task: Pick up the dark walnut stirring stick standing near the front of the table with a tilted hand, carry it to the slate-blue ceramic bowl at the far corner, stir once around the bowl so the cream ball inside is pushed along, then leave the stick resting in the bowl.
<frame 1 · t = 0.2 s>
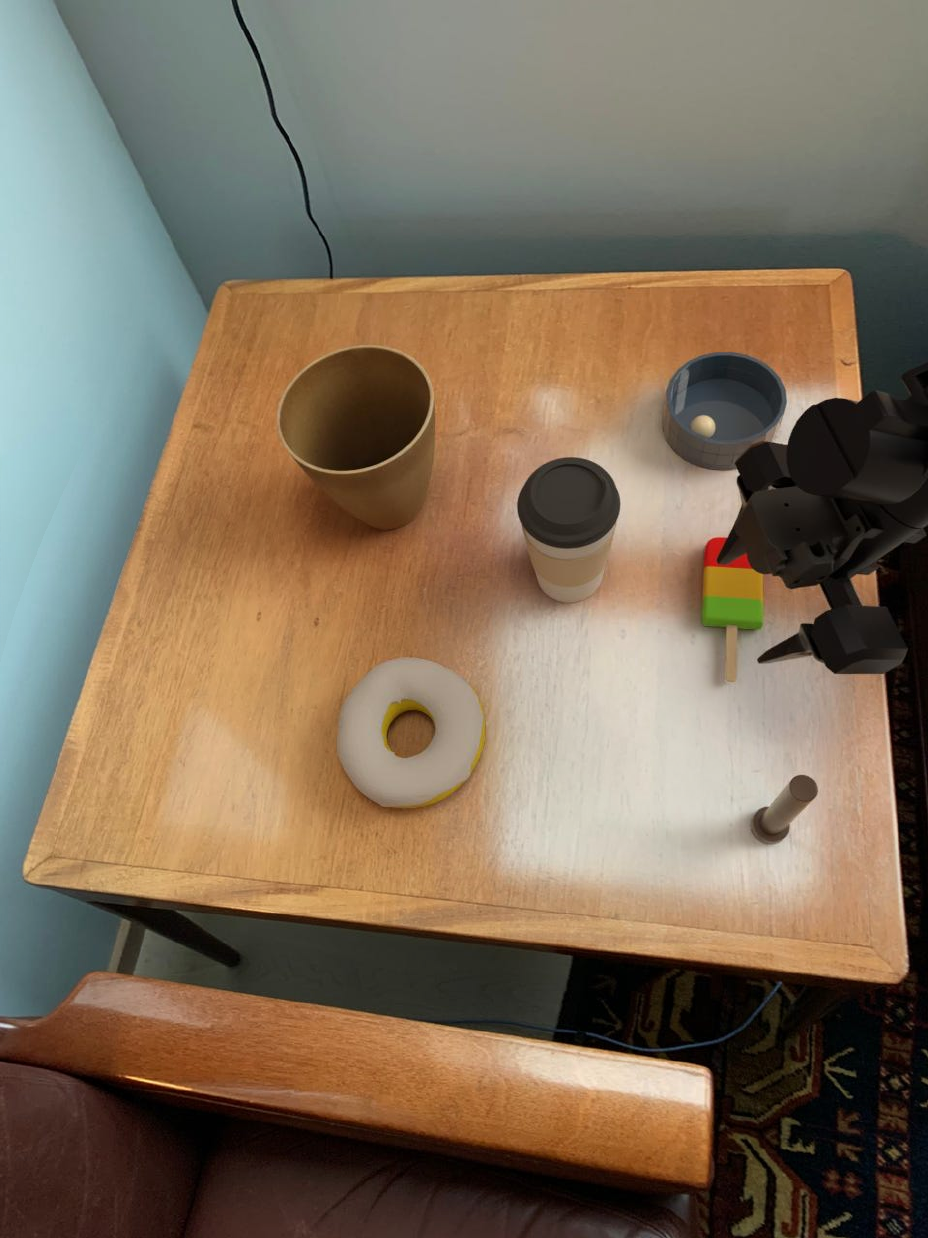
hand: (740, 610, 70), 13 cm above the table, tool tilted 35°, fingers open, 9 cm apart
ball: (702, 427, 91), point 2 cm above the table, touching bowl
plant pot: (388, 502, 94), on the table
stirring stick: (768, 826, 75), on the table
coffee cup: (569, 573, 88), on the table
popsicle: (730, 613, 84), on the table
bowl: (719, 424, 93), on the table
donut: (414, 742, 82), on the table
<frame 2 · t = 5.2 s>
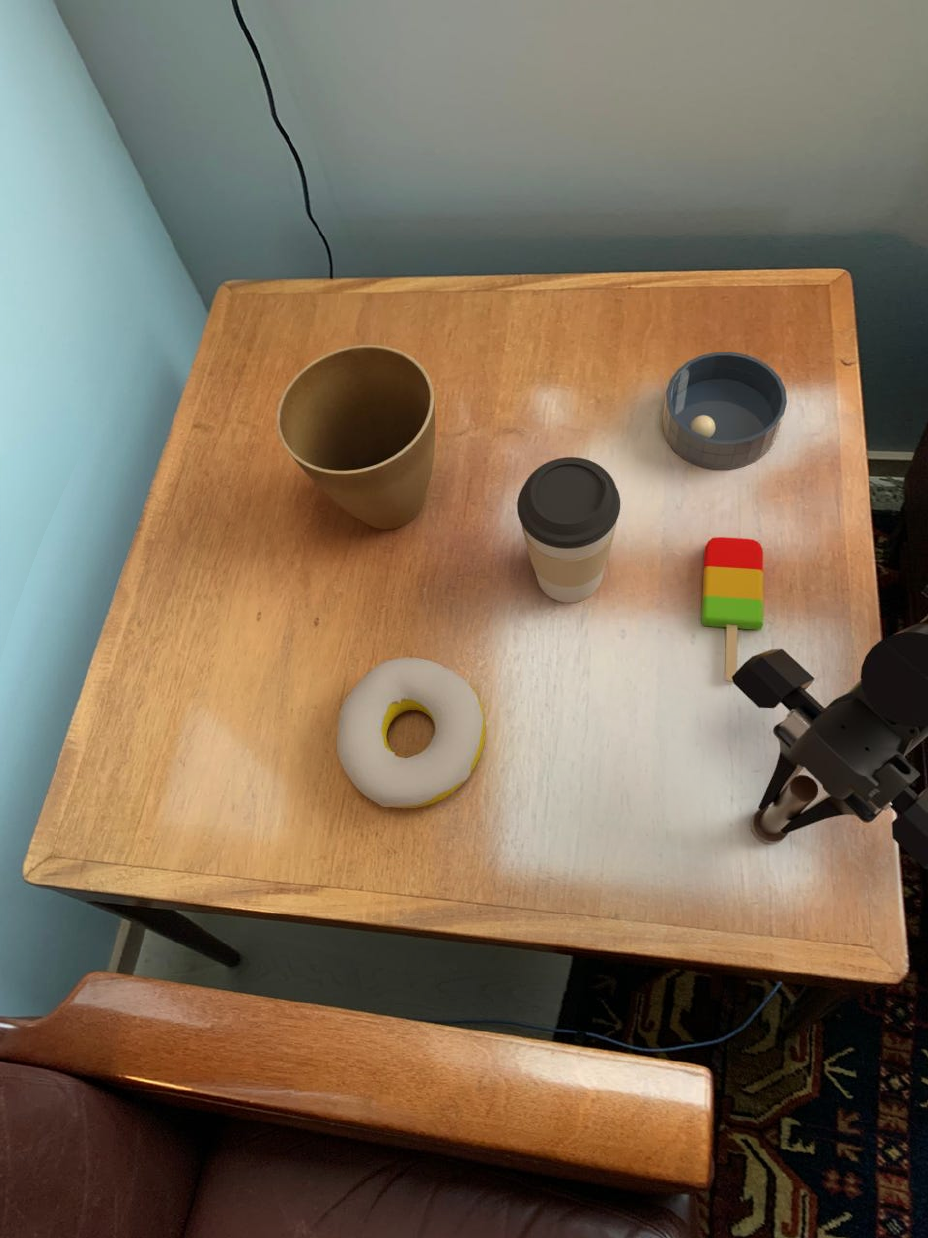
hand: (772, 819, 69), 7 cm above the table, tool tilted 45°, fingers closed on stirring stick, 2 cm apart
stirring stick: (768, 826, 75), on the table, touching gripper
everything else where it was.
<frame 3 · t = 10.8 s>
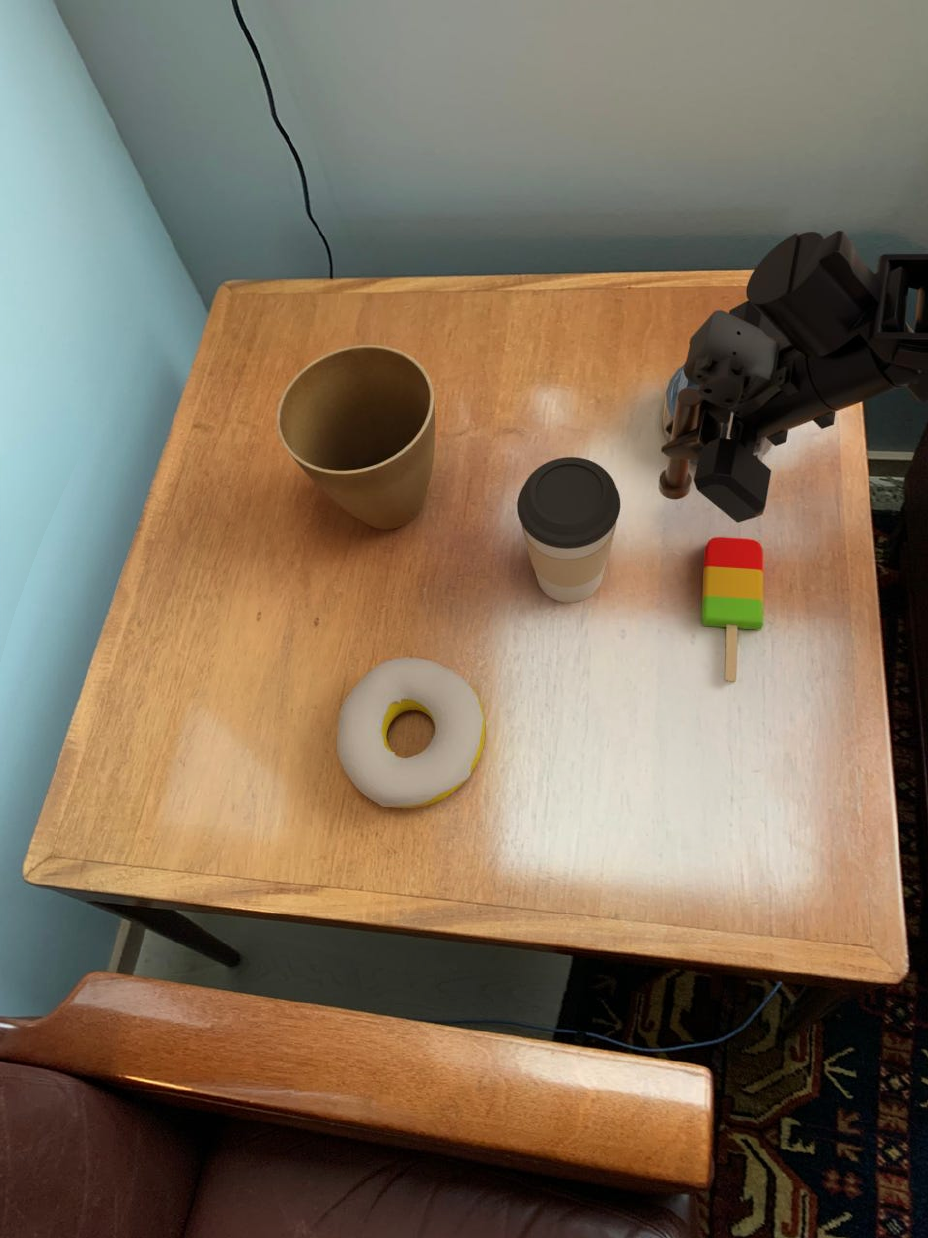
hand: (666, 441, 77), 14 cm above the table, tool tilted 45°, fingers closed on stirring stick
stirring stick: (674, 486, 82), point 7 cm above the table, touching gripper
everything else where it was.
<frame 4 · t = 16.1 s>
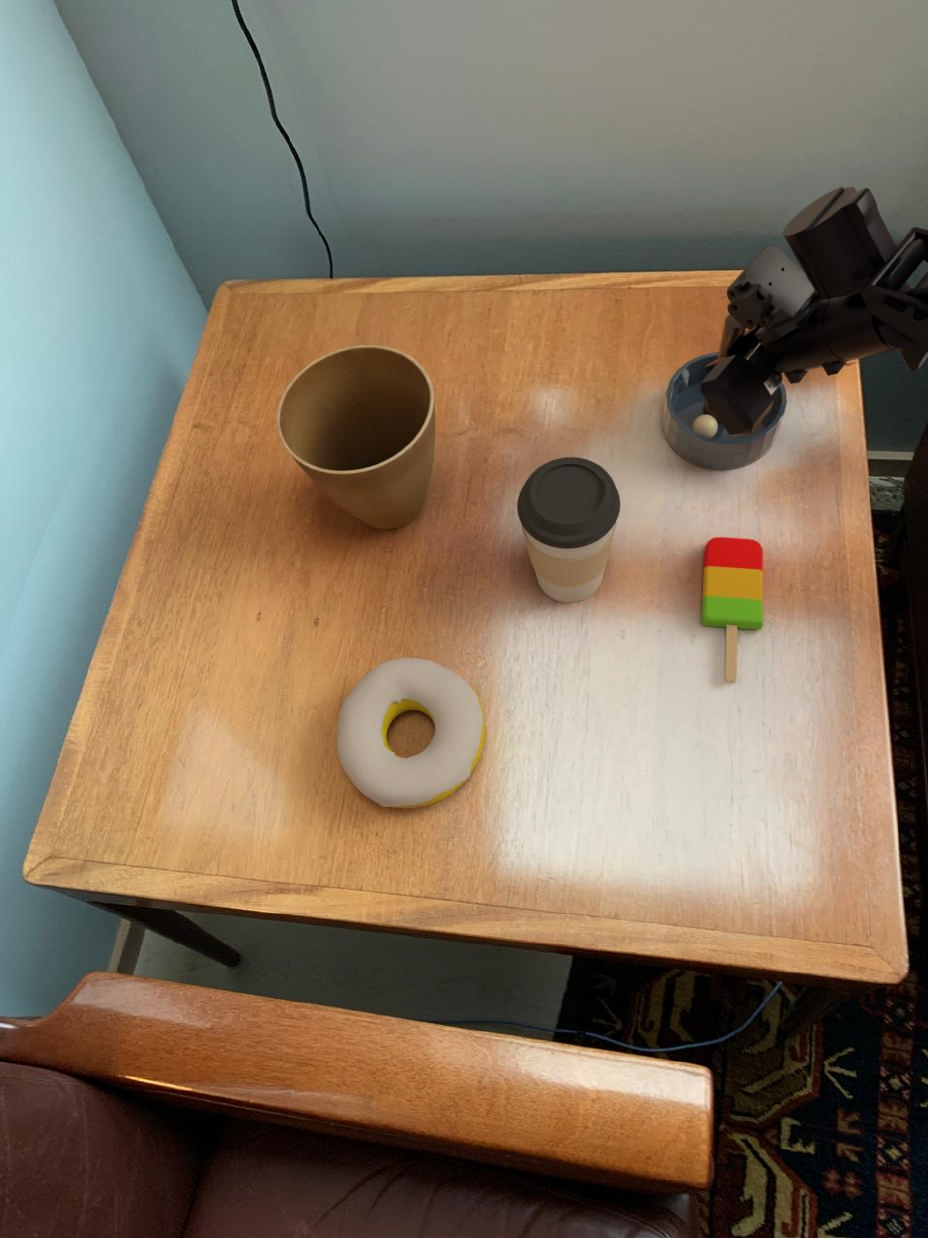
hand: (714, 362, 87), 8 cm above the table, tool tilted 45°, fingers closed on stirring stick, 2 cm apart
ball: (704, 427, 91), point 2 cm above the table, tilted 11°, touching bowl
stirring stick: (717, 410, 92), point 2 cm above the table, touching gripper
everything else where it was.
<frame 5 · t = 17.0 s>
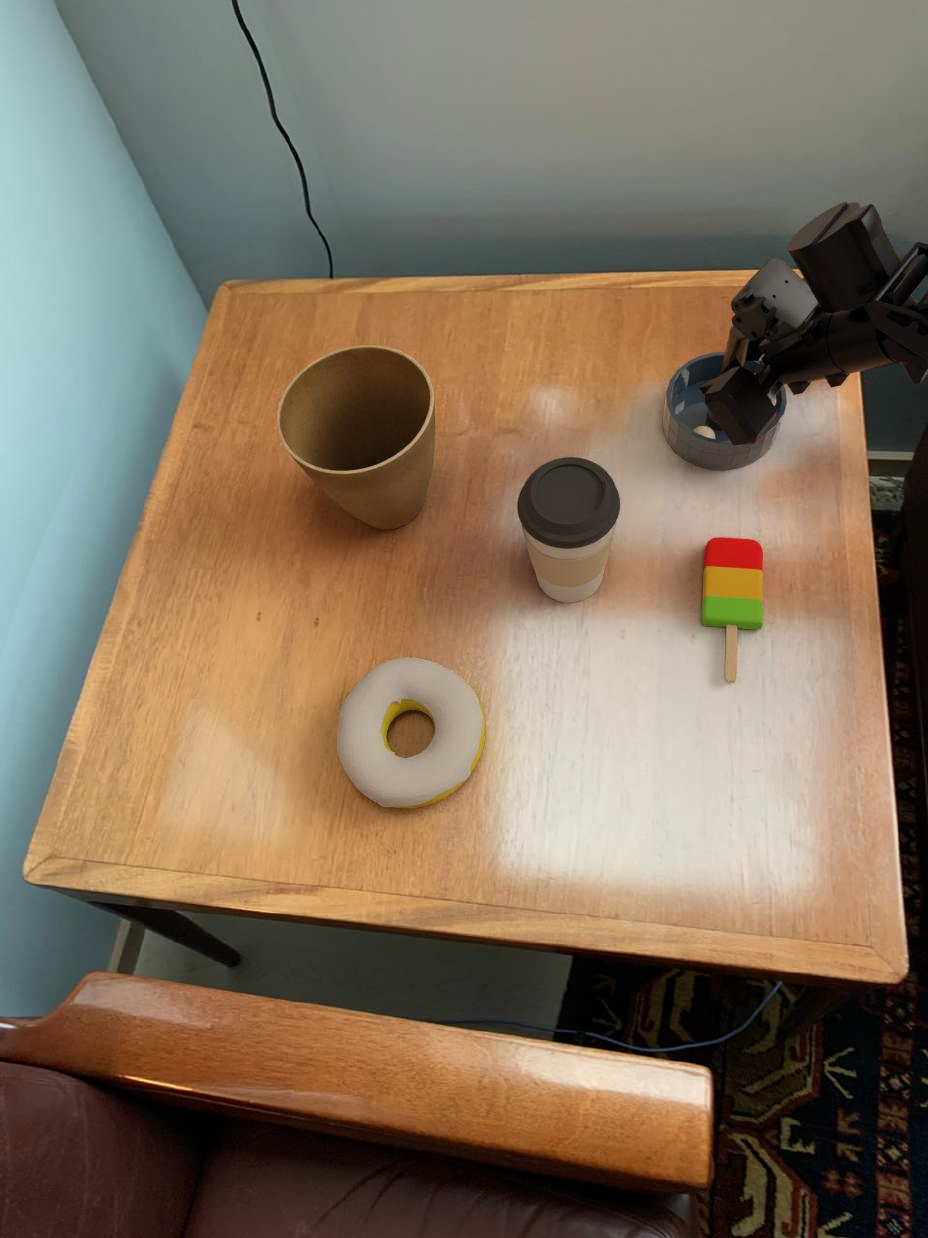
hand: (717, 372, 87), 7 cm above the table, tool tilted 45°, fingers open, 5 cm apart
ball: (702, 438, 90), point 2 cm above the table, tilted 60°, touching bowl
stirring stick: (720, 419, 93), point 1 cm above the table, touching bowl
everything else where it was.
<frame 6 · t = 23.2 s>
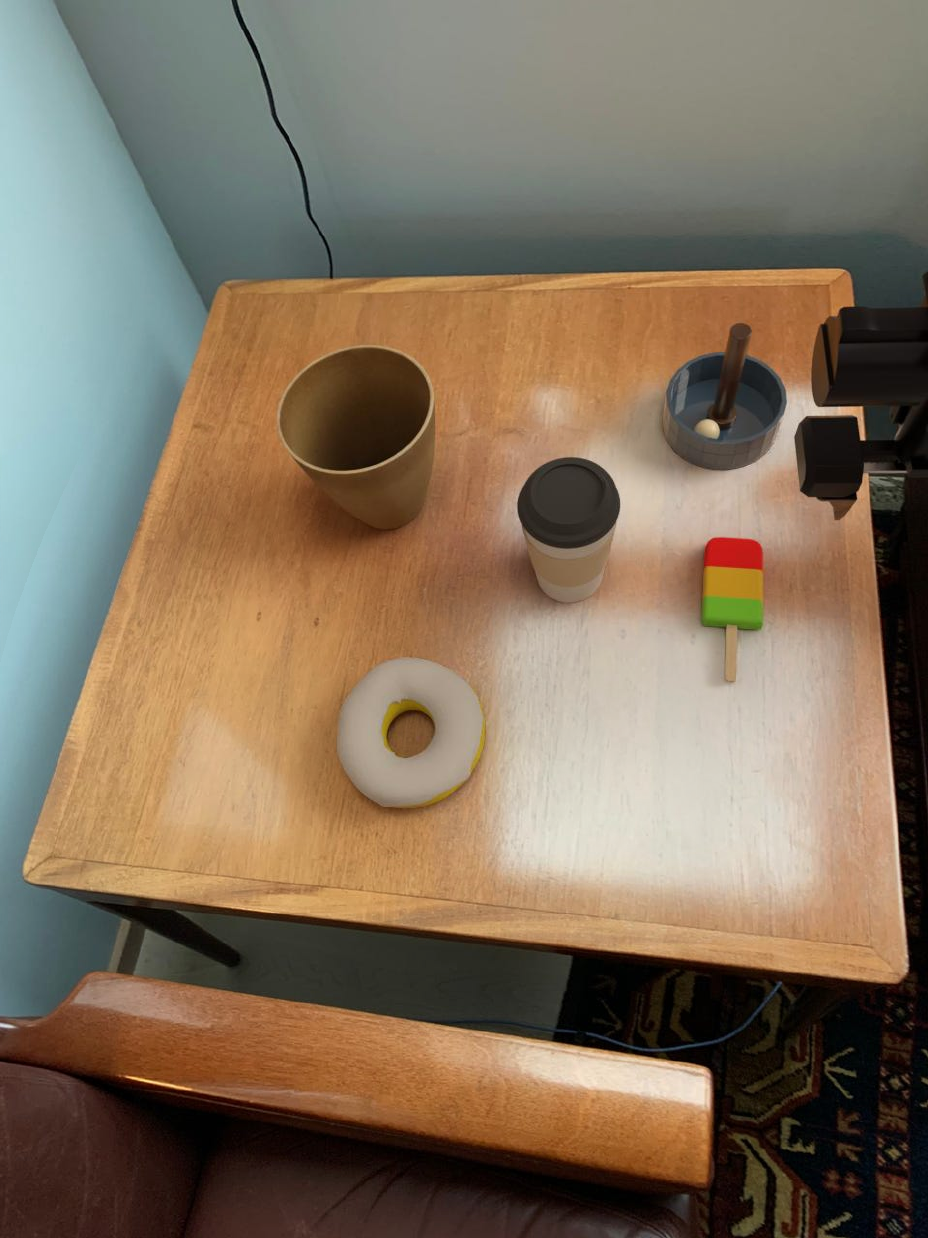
hand: (894, 515, 72), 13 cm above the table, tool pointing down, fingers open, 9 cm apart
ball: (706, 431, 91), point 2 cm above the table, tilted 27°, touching bowl
everything else where it was.
at the end: stirring stick inside the target area in the bowl (0.0 cm from its centre), point 0.8 cm above the bowl's base; ball moved 0.7 cm from its start; the gripper is holding nothing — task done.
